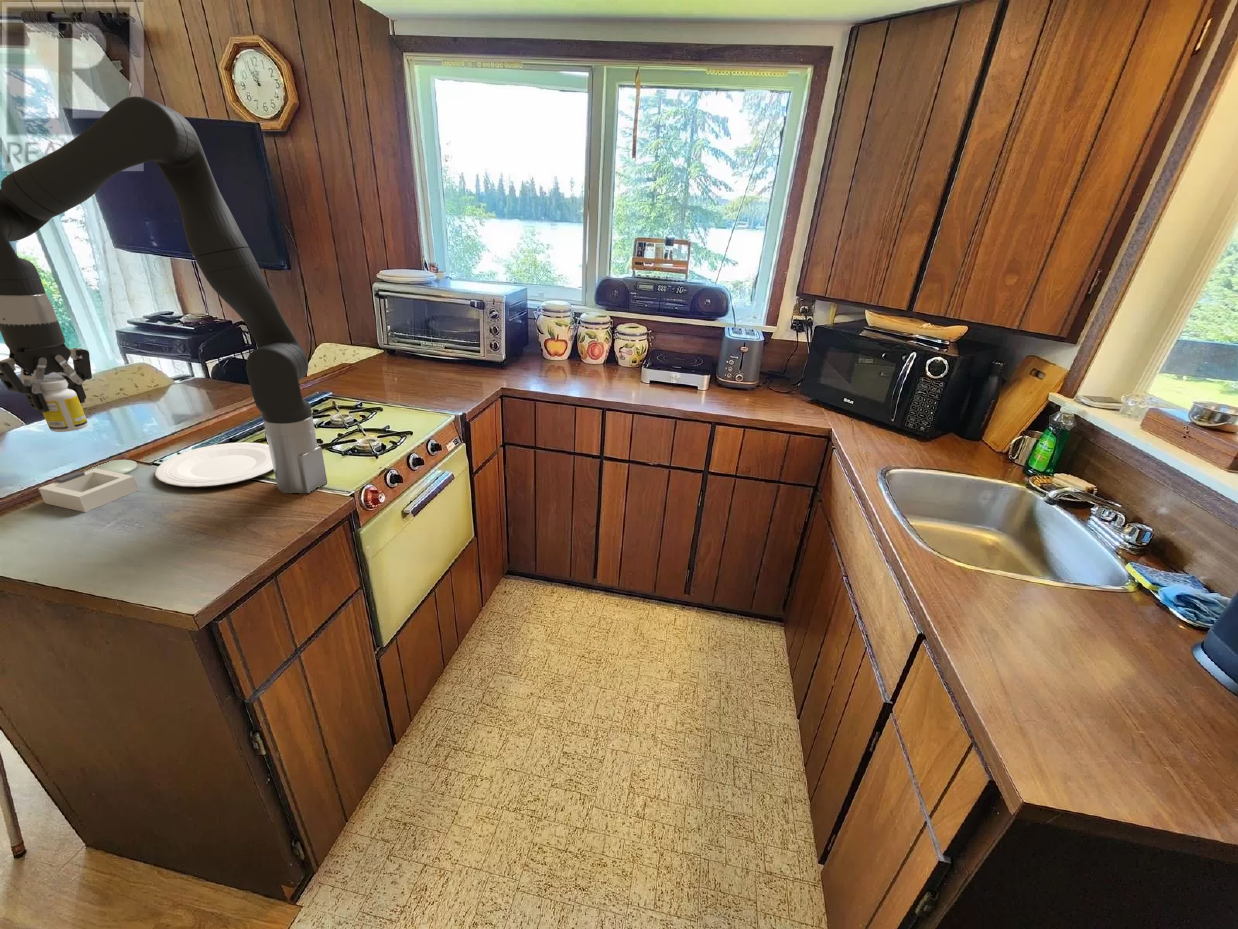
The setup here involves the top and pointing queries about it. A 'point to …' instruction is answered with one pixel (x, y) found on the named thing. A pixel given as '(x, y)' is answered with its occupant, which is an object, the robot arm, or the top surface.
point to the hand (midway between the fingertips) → (61, 406)
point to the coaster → (117, 466)
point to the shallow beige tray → (88, 489)
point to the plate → (216, 465)
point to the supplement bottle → (62, 406)
